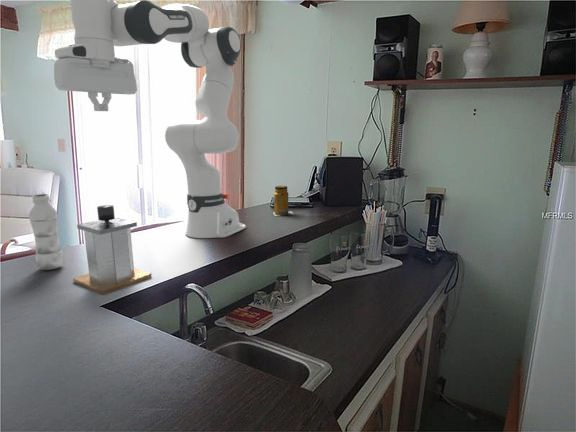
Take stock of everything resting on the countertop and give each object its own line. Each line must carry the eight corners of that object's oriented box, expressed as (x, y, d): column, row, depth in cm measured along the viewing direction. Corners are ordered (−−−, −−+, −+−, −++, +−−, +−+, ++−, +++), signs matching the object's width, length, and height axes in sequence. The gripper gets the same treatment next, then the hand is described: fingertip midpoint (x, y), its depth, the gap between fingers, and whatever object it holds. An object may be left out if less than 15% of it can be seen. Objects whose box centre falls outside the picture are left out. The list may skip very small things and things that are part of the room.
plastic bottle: (53, 273, 105) (42, 197, 100) (30, 271, 106) (19, 197, 102) (70, 265, 111) (61, 193, 107) (49, 263, 112) (39, 192, 108)
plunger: (116, 267, 105) (110, 202, 101) (132, 272, 101) (125, 205, 97) (92, 274, 100) (84, 207, 96) (107, 280, 96) (99, 210, 92)
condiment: (272, 212, 176) (272, 185, 174) (291, 211, 178) (291, 184, 175) (274, 216, 169) (274, 188, 167) (294, 215, 171) (294, 187, 168)
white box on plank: (121, 267, 110) (116, 215, 106) (151, 277, 102) (146, 221, 99) (73, 282, 99) (66, 225, 96) (103, 294, 92) (96, 233, 89)
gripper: (125, 60, 111) (130, 112, 114) (47, 49, 95) (55, 110, 98) (139, 58, 108) (143, 111, 111) (60, 46, 91) (68, 110, 94)
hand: (101, 111), depth 104 cm, fingers closed
